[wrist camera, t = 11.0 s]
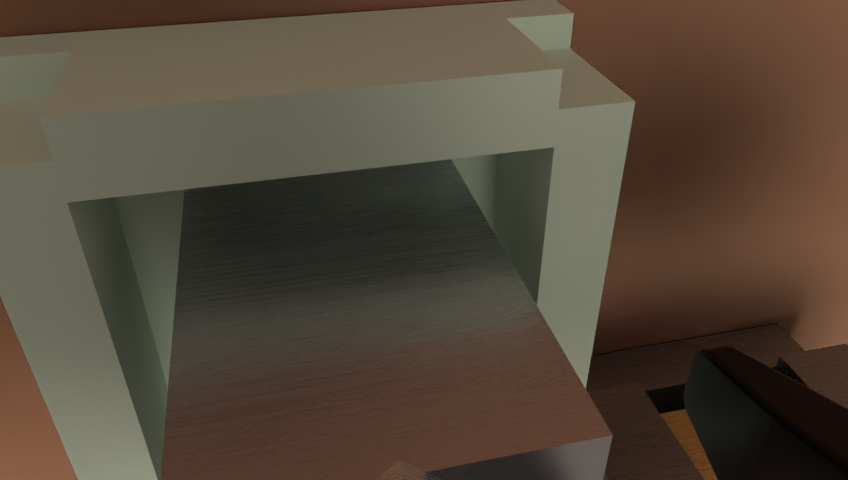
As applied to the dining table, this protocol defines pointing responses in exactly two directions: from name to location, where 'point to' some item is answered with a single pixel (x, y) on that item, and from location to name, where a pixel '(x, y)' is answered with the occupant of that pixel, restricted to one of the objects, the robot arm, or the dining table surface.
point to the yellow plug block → (689, 441)
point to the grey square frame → (277, 174)
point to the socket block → (664, 392)
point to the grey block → (364, 339)
